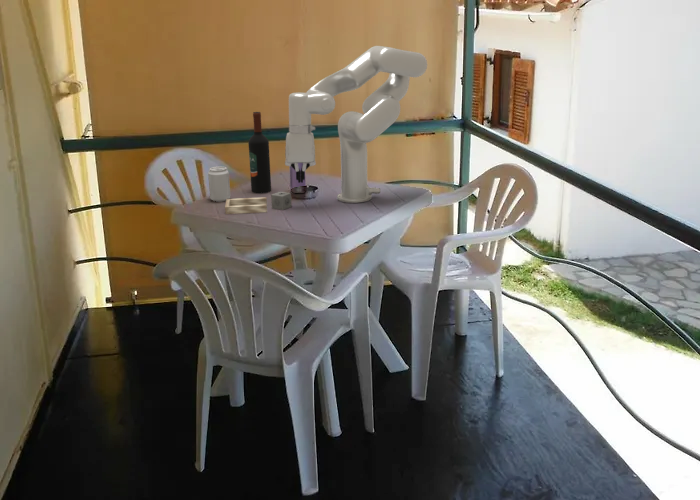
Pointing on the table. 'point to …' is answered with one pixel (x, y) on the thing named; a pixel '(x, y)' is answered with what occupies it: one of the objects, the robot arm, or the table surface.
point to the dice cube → (281, 200)
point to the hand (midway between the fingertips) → (300, 181)
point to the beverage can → (293, 177)
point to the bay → (246, 205)
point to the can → (219, 184)
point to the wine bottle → (259, 158)
